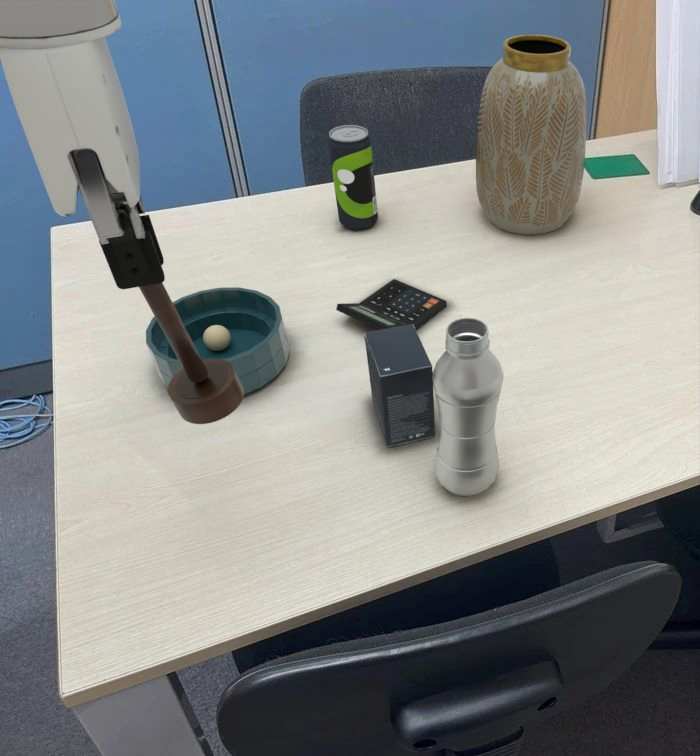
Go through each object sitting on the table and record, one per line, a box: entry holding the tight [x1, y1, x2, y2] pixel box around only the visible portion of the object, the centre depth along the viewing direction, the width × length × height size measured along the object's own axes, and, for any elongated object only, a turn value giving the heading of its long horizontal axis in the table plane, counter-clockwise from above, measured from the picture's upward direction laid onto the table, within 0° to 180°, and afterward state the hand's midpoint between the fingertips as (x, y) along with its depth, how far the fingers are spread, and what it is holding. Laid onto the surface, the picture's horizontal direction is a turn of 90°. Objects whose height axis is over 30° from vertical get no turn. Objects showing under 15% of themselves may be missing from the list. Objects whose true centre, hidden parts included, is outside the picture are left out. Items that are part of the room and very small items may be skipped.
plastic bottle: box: [432, 317, 504, 497], centre depth 68 cm, size 6×7×20 cm
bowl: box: [145, 286, 290, 395], centre depth 85 cm, size 15×15×6 cm
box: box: [363, 324, 436, 448], centre depth 77 cm, size 8×6×11 cm
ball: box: [203, 325, 231, 351], centre depth 87 cm, size 3×3×3 cm
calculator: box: [335, 278, 448, 331], centre depth 95 cm, size 9×12×3 cm
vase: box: [475, 34, 588, 236], centre depth 109 cm, size 17×17×27 cm
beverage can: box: [327, 124, 379, 232], centre depth 109 cm, size 6×6×15 cm
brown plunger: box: [116, 209, 245, 425], centre depth 55 cm, size 6×6×19 cm
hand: (141, 274), depth 52 cm, fingers closed on brown plunger
